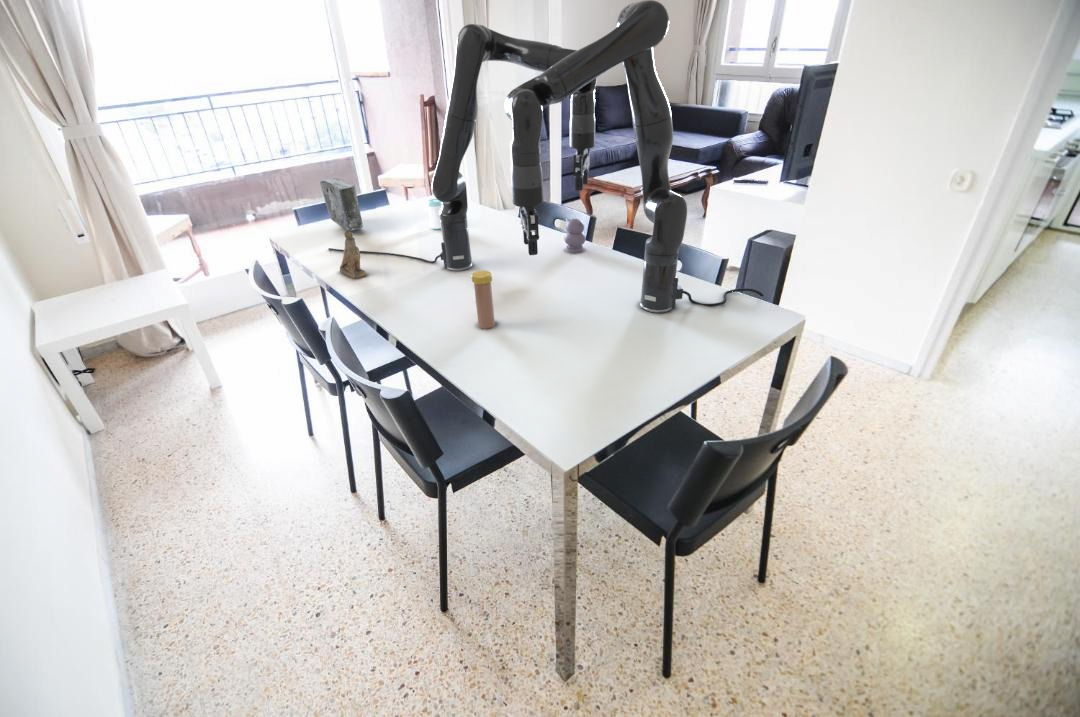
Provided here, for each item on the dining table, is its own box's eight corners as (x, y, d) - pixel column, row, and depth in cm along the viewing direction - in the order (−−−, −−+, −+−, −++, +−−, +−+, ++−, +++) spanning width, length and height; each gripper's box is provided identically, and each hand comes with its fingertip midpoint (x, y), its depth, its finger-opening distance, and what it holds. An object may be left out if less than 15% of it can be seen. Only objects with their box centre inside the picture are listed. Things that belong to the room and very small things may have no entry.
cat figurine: (589, 249, 191) (590, 218, 185) (577, 255, 187) (577, 223, 180) (572, 245, 196) (572, 214, 190) (559, 250, 192) (559, 219, 185)
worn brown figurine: (368, 281, 178) (362, 235, 166) (353, 285, 175) (347, 238, 163) (352, 266, 184) (346, 221, 172) (338, 270, 181) (331, 224, 169)
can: (445, 229, 220) (441, 202, 214) (429, 230, 220) (425, 202, 214) (447, 224, 226) (444, 198, 220) (432, 225, 226) (428, 198, 220)
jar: (492, 320, 144) (487, 271, 136) (497, 326, 140) (492, 277, 132) (476, 323, 142) (471, 274, 134) (480, 330, 138) (475, 280, 131)
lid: (488, 275, 137) (488, 269, 136) (494, 282, 133) (493, 275, 132) (470, 278, 135) (469, 272, 134) (475, 286, 131) (474, 279, 130)
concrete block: (368, 232, 220) (358, 186, 209) (348, 237, 216) (336, 189, 205) (349, 220, 239) (338, 176, 228) (330, 223, 234) (319, 179, 224)
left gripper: (574, 127, 153) (574, 181, 162) (564, 133, 142) (565, 192, 150) (598, 127, 152) (597, 182, 160) (590, 133, 140) (589, 192, 148)
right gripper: (547, 189, 113) (550, 257, 121) (537, 176, 125) (540, 239, 133) (515, 191, 112) (519, 260, 121) (508, 178, 124) (512, 241, 133)
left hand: (581, 186), depth 155 cm, fingers open, 8 cm apart
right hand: (530, 249), depth 127 cm, fingers open, 8 cm apart
